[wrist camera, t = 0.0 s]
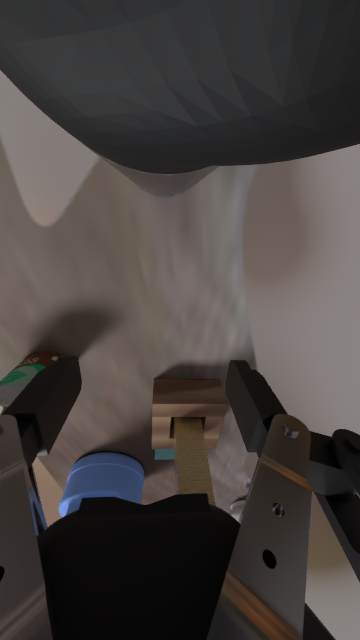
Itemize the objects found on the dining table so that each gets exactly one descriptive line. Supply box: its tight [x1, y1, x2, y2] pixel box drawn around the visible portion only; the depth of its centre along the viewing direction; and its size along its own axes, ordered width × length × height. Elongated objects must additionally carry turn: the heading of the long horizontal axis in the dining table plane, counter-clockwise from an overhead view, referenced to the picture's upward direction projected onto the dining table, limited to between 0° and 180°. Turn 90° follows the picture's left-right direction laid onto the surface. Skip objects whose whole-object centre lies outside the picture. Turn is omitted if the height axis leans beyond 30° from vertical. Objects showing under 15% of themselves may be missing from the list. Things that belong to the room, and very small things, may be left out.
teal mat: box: [155, 449, 175, 460], centre depth 43 cm, size 10×10×1 cm
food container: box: [0, 352, 63, 415], centre depth 27 cm, size 12×6×10 cm, turn 126°
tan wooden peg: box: [173, 417, 216, 506], centre depth 30 cm, size 4×4×18 cm
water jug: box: [59, 452, 144, 518], centre depth 34 cm, size 16×16×28 cm
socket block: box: [152, 379, 227, 449], centre depth 35 cm, size 11×11×5 cm
